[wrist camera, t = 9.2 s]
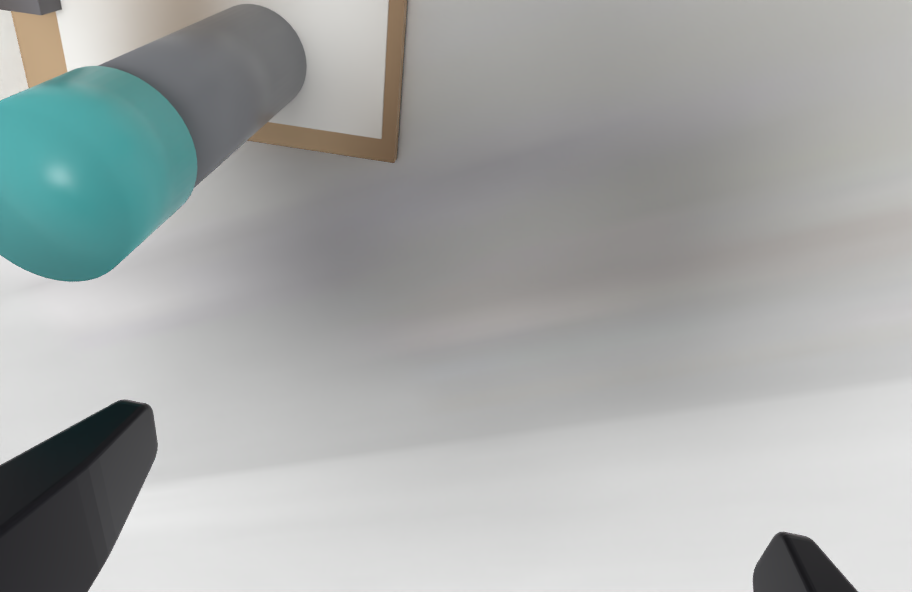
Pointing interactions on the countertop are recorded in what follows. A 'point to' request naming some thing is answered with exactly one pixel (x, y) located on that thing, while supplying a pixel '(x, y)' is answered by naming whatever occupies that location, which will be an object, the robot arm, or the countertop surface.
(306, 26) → the clipboard
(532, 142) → the countertop surface
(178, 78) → the marker
